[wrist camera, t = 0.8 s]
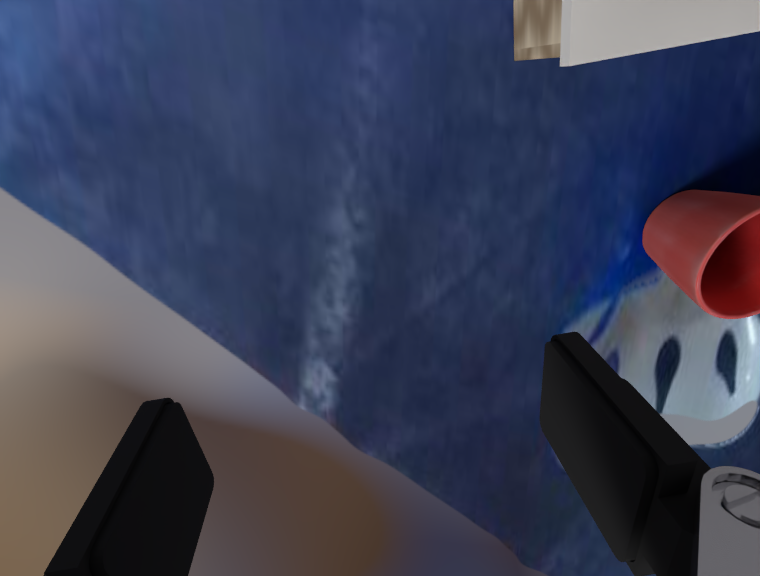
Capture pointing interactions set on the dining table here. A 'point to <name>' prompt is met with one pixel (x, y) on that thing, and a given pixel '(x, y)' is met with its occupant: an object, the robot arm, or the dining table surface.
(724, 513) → the robot arm
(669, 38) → the lid
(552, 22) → the box
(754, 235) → the flower pot
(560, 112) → the dining table surface
